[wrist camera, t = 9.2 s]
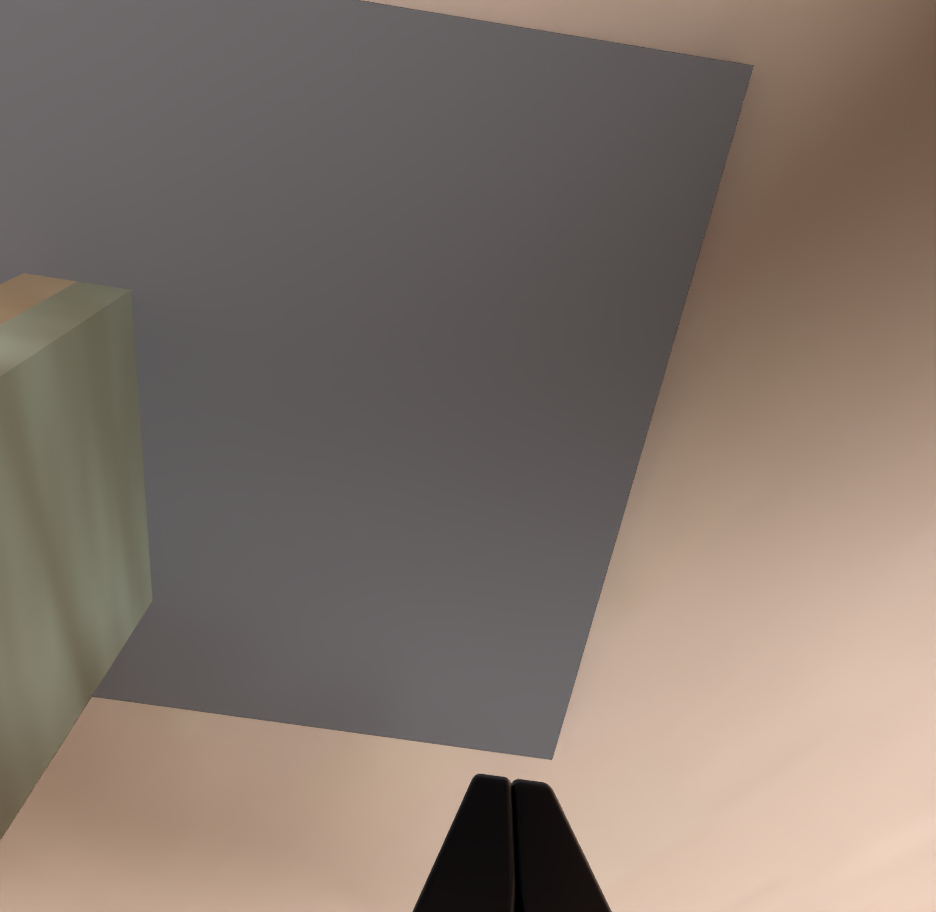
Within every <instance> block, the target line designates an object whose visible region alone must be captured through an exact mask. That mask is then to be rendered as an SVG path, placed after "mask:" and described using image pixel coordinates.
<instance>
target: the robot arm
mask: <svg viewBox="0 0 936 912" xmlns="http://www.w3.org/2000/svg"><path fill="white" fill-rule="evenodd" d="M413 912H612V911H611V909H610V907H609V905H608V903H607V901H606V899H605V897H604V895H603V893H602V891H601V888H600V886H599V884H598V882H597V880H596V878H595V876H594V874H593V872H592V870H591V868H590V866H589V864H588V862H587V859H586V857H585V855H584V853H583V851H582V849H581V847H580V845H579V843H578V841H577V839H576V837H575V835H574V833H573V830H572V828H571V826H570V824H569V822H568V820H567V818H566V816H565V814H564V812H563V810H562V808H561V806H560V803H559V801H558V799H557V797H556V795H555V793H554V791H553V790H552V788H551V787H550V786H549V785H548V784H546V783H543V782H536V781H529V780H522V779H516V780H514V781H513V782H512V784H511V782H510V780H509V779H508V778H506V777H500V776H493V775H486V774H477V775H475V776H474V777H473V779H472V781H471V783H470V785H469V787H468V789H467V792H466V794H465V796H464V798H463V801H462V803H461V805H460V807H459V809H458V812H457V814H456V816H455V818H454V821H453V823H452V825H451V827H450V829H449V832H448V834H447V836H446V838H445V841H444V843H443V845H442V847H441V850H440V852H439V854H438V856H437V858H436V861H435V863H434V865H433V867H432V870H431V872H430V874H429V876H428V878H427V881H426V883H425V885H424V887H423V890H422V892H421V894H420V896H419V898H418V901H417V903H416V905H415V907H414V910H413Z"/></svg>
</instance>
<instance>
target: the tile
mask: <svg viewBox="0 0 936 912" xmlns="http://www.w3.org/2000/svg"><path fill="white" fill-rule="evenodd" d="M152 600H153V599H152V584H151V570H150V555H149V541H148V526H147V512H146V498H145V483H144V469H143V454H142V440H141V425H140V411H139V396H138V382H137V367H136V353H135V338H134V324H133V309H132V295H131V290H129V289H123V288H117V287H110V286H104V285H97V284H91V283H84V282H78V281H71V280H65V279H59V278H52V277H46V276H39V275H33V274H26V273H23V274H21V275H19V276H17V277H14V278H12V279H10V280H8V281H6V282H4V283H2V284H0V840H1V839H2V837H3V836H4V834H5V832H6V831H7V829H8V828H9V826H10V824H11V823H12V821H13V820H14V818H15V817H16V815H17V813H18V812H19V810H20V809H21V807H22V806H23V804H24V802H25V801H26V799H27V798H28V796H29V795H30V793H31V791H32V790H33V788H34V787H35V785H36V783H37V782H38V780H39V779H40V777H41V776H42V774H43V772H44V771H45V769H46V768H47V766H48V765H49V763H50V761H51V760H52V758H53V757H54V755H55V753H56V752H57V750H58V749H59V747H60V746H61V744H62V742H63V741H64V739H65V738H66V736H67V735H68V733H69V731H70V730H71V728H72V727H73V725H74V724H75V722H76V720H77V719H78V717H79V716H80V714H81V712H82V711H83V709H84V708H85V706H86V705H87V703H88V701H89V700H90V698H91V697H92V695H93V694H94V692H95V690H96V689H97V687H98V686H99V684H100V683H101V681H102V679H103V678H104V676H105V675H106V673H107V671H108V670H109V668H110V667H111V665H112V664H113V662H114V660H115V659H116V657H117V656H118V654H119V653H120V651H121V649H122V648H123V646H124V645H125V643H126V641H127V640H128V638H129V637H130V635H131V634H132V632H133V630H134V629H135V627H136V626H137V624H138V623H139V621H140V619H141V618H142V616H143V615H144V613H145V612H146V610H147V608H148V607H149V605H150V604H151V602H152Z"/></svg>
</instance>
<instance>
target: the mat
mask: <svg viewBox="0 0 936 912" xmlns="http://www.w3.org/2000/svg"><path fill="white" fill-rule="evenodd" d="M752 70H753V65H747V64H741V63H735V62H729V61H723V60H716V59H710V58H704V57H698V56H692V55H686V54H680V53H674V52H668V51H662V50H656V49H650V48H644V47H638V46H632V45H626V44H620V43H614V42H608V41H602V40H596V39H590V38H584V37H578V36H572V35H566V34H560V33H554V32H548V31H542V30H536V29H530V28H523V27H517V26H511V25H505V24H499V23H493V22H487V21H481V20H475V19H469V18H463V17H457V16H451V15H445V14H439V13H433V12H427V11H421V10H415V9H409V8H403V7H397V6H391V5H385V4H379V3H373V2H367V1H361V0H0V284H2V283H4V282H6V281H8V280H10V279H12V278H14V277H17V276H19V275H21V274H23V273H26V274H33V275H39V276H46V277H52V278H59V279H65V280H71V281H78V282H84V283H91V284H97V285H104V286H110V287H117V288H123V289H129V290H131V295H132V309H133V324H134V338H135V353H136V367H137V382H138V396H139V411H140V425H141V440H142V454H143V469H144V483H145V498H146V512H147V526H148V541H149V555H150V570H151V584H152V599H153V600H152V602H151V604H150V605H149V607H148V608H147V610H146V612H145V613H144V615H143V616H142V618H141V619H140V621H139V623H138V624H137V626H136V627H135V629H134V630H133V632H132V634H131V635H130V637H129V638H128V640H127V641H126V643H125V645H124V646H123V648H122V649H121V651H120V653H119V654H118V656H117V657H116V659H115V660H114V662H113V664H112V665H111V667H110V668H109V670H108V671H107V673H106V675H105V676H104V678H103V679H102V681H101V683H100V684H99V686H98V687H97V689H96V690H95V692H94V694H93V695H92V697H99V698H106V699H114V700H121V701H128V702H135V703H143V704H150V705H157V706H164V707H172V708H179V709H186V710H193V711H201V712H208V713H215V714H222V715H230V716H237V717H244V718H251V719H259V720H266V721H273V722H281V723H288V724H295V725H302V726H310V727H317V728H324V729H331V730H339V731H346V732H353V733H360V734H368V735H375V736H382V737H389V738H397V739H404V740H411V741H418V742H426V743H433V744H440V745H447V746H455V747H462V748H469V749H477V750H484V751H491V752H498V753H506V754H513V755H520V756H527V757H535V758H542V759H549V760H552V758H553V755H554V752H555V748H556V745H557V741H558V738H559V734H560V731H561V727H562V724H563V721H564V717H565V714H566V710H567V707H568V703H569V700H570V697H571V693H572V690H573V686H574V683H575V679H576V676H577V672H578V669H579V666H580V662H581V659H582V655H583V652H584V648H585V645H586V641H587V638H588V635H589V631H590V628H591V624H592V621H593V617H594V614H595V610H596V607H597V604H598V600H599V597H600V593H601V590H602V586H603V583H604V579H605V576H606V573H607V569H608V566H609V562H610V559H611V555H612V552H613V548H614V545H615V542H616V538H617V535H618V531H619V528H620V524H621V521H622V517H623V514H624V511H625V507H626V504H627V500H628V497H629V493H630V490H631V486H632V483H633V480H634V476H635V473H636V469H637V466H638V462H639V459H640V455H641V452H642V449H643V445H644V442H645V438H646V435H647V431H648V428H649V425H650V421H651V418H652V414H653V411H654V407H655V404H656V400H657V397H658V394H659V390H660V387H661V383H662V380H663V376H664V373H665V369H666V366H667V363H668V359H669V356H670V352H671V349H672V345H673V342H674V338H675V335H676V332H677V328H678V325H679V321H680V318H681V314H682V311H683V307H684V304H685V301H686V297H687V294H688V290H689V287H690V283H691V280H692V276H693V273H694V270H695V266H696V263H697V259H698V256H699V252H700V249H701V245H702V242H703V239H704V235H705V232H706V228H707V225H708V221H709V218H710V214H711V211H712V208H713V204H714V201H715V197H716V194H717V190H718V187H719V183H720V180H721V177H722V173H723V170H724V166H725V163H726V159H727V156H728V153H729V149H730V146H731V142H732V139H733V135H734V132H735V128H736V125H737V122H738V118H739V115H740V111H741V108H742V104H743V101H744V97H745V94H746V91H747V87H748V84H749V80H750V77H751V73H752Z"/></svg>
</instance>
